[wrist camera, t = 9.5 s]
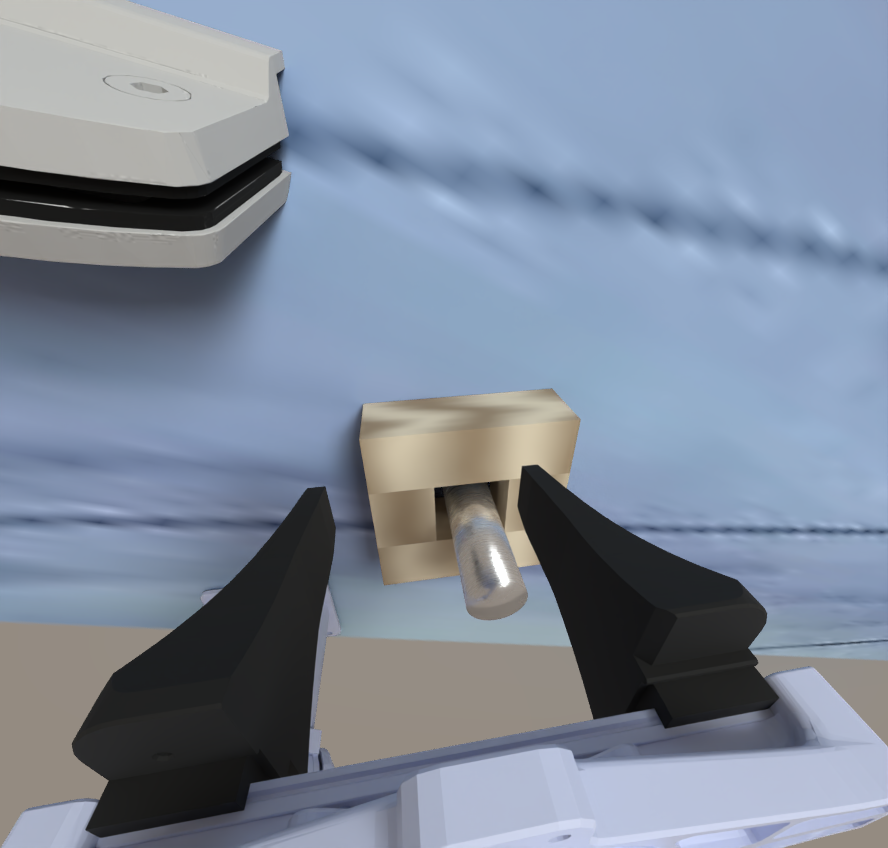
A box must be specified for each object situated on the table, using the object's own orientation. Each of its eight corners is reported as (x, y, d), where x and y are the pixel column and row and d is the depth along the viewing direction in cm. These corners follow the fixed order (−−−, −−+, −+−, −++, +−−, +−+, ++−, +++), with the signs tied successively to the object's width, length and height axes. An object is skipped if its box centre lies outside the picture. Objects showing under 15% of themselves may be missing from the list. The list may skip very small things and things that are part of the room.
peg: (441, 490, 26) (467, 624, 18) (437, 457, 25) (464, 587, 16) (481, 484, 27) (526, 613, 18) (480, 451, 25) (529, 576, 16)
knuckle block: (384, 539, 28) (384, 585, 25) (363, 403, 22) (359, 439, 18) (532, 521, 29) (551, 562, 26) (552, 388, 23) (580, 419, 20)
